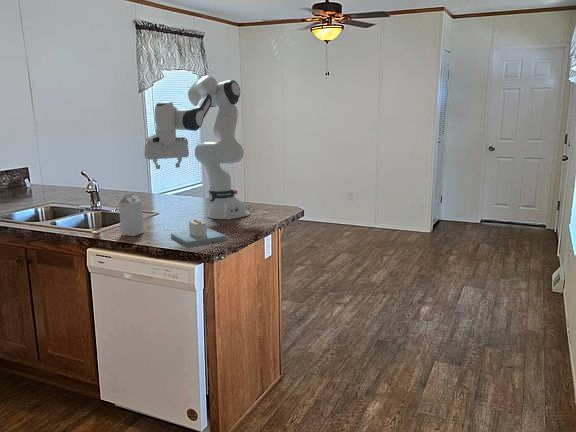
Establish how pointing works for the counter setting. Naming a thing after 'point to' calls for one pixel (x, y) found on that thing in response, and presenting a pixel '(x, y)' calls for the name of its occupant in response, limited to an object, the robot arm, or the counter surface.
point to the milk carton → (131, 215)
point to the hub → (197, 238)
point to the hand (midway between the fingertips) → (168, 168)
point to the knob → (197, 228)
